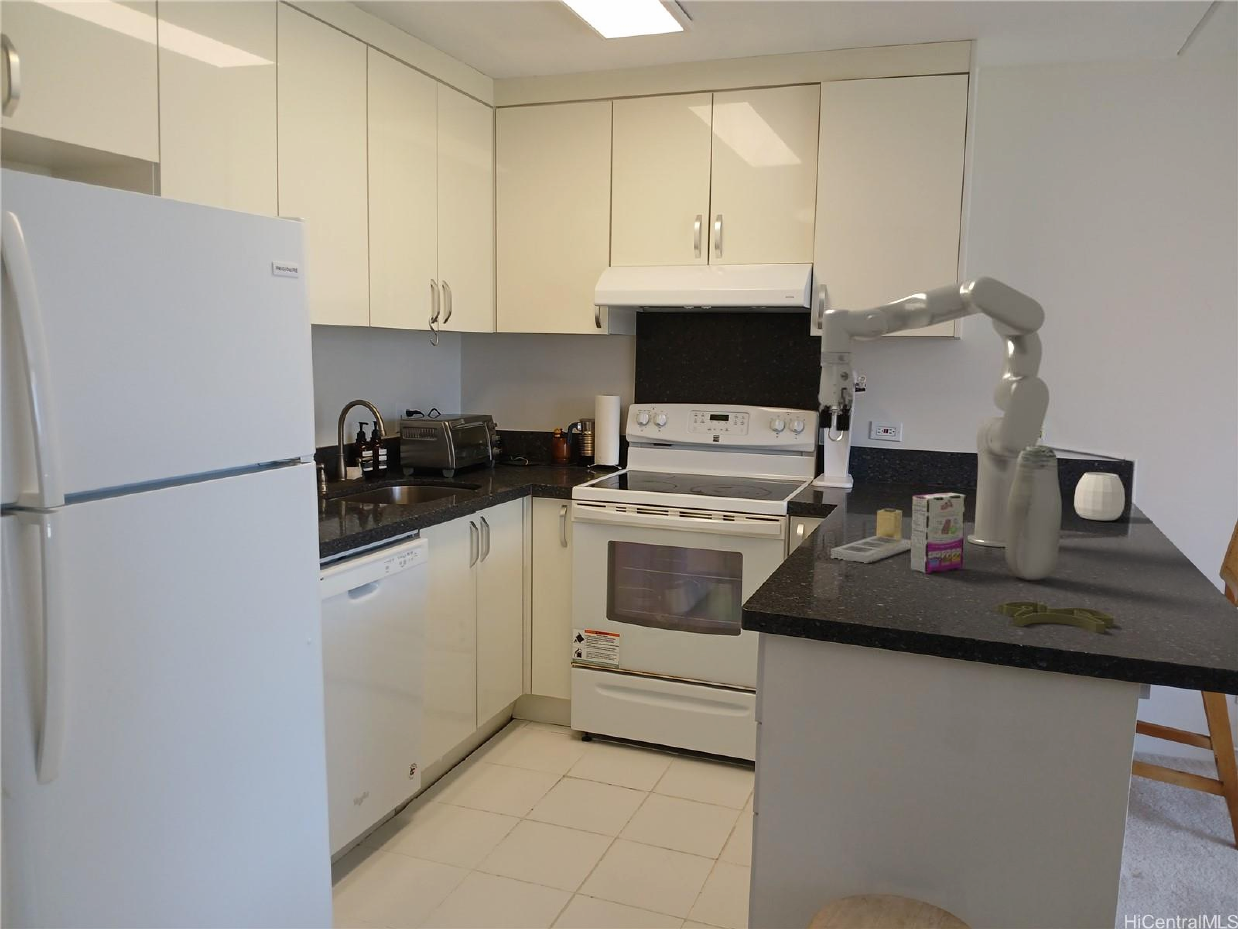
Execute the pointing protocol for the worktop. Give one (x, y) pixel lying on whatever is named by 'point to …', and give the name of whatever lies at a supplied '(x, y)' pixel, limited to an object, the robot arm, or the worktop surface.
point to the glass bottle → (1034, 515)
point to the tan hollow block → (889, 523)
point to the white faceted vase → (1099, 496)
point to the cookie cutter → (1055, 615)
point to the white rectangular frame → (871, 549)
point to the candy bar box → (937, 532)
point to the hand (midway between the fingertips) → (833, 429)
